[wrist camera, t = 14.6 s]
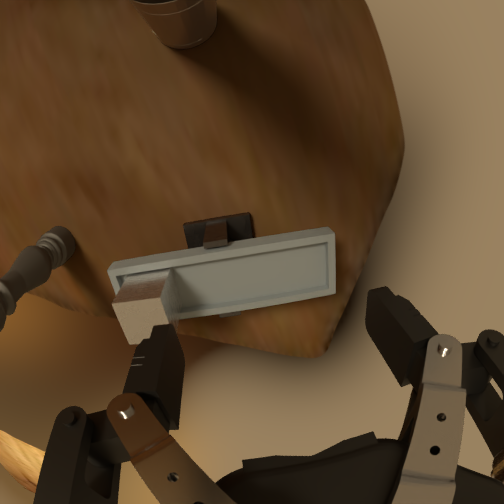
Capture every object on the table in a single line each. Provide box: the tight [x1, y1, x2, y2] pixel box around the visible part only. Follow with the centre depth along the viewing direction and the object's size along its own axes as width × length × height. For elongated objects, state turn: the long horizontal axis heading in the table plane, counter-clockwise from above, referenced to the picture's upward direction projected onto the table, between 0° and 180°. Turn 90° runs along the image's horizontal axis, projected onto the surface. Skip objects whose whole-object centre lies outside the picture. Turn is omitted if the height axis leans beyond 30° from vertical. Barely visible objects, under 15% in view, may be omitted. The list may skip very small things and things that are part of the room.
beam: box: [107, 227, 336, 319], centre depth 39 cm, size 9×30×3 cm, turn 98°
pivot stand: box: [183, 212, 253, 318], centre depth 43 cm, size 12×10×9 cm
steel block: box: [112, 267, 182, 344], centre depth 35 cm, size 6×6×8 cm
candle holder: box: [0, 226, 75, 331], centre depth 32 cm, size 6×6×25 cm
